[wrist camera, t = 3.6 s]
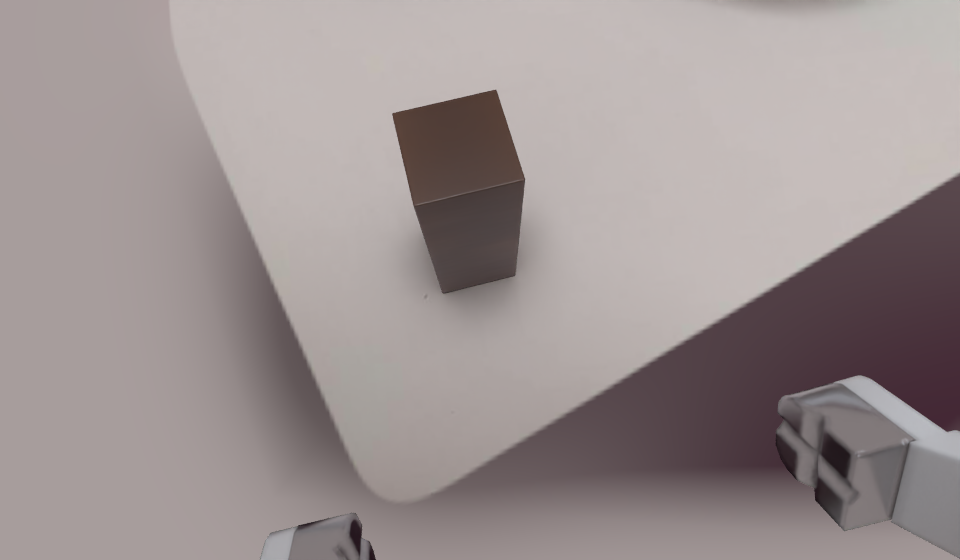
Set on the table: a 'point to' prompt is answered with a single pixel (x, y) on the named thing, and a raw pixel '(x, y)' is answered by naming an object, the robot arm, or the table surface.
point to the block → (464, 187)
